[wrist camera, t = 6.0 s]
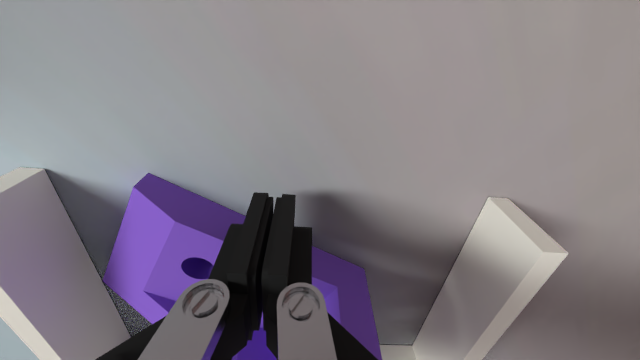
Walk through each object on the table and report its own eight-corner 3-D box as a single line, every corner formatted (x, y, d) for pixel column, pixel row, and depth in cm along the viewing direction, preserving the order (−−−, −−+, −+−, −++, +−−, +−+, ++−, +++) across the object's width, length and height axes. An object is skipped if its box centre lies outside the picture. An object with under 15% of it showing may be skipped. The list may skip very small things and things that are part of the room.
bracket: (362, 262, 15) (392, 411, 10) (303, 319, 18) (298, 459, 13) (153, 168, 12) (-1, 312, 6) (120, 257, 15) (-4, 412, 9)
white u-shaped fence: (19, 167, 11) (-89, 220, 8) (508, 198, 13) (568, 253, 10) (121, 346, 19) (84, 408, 16) (421, 352, 20) (440, 410, 17)
